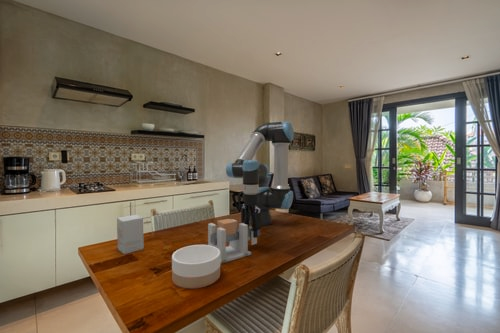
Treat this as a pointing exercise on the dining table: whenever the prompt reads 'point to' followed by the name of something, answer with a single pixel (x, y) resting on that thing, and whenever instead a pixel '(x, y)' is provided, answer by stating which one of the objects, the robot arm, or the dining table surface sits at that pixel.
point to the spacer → (227, 226)
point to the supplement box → (130, 233)
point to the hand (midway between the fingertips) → (250, 242)
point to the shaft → (231, 236)
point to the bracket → (230, 243)
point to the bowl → (195, 266)
